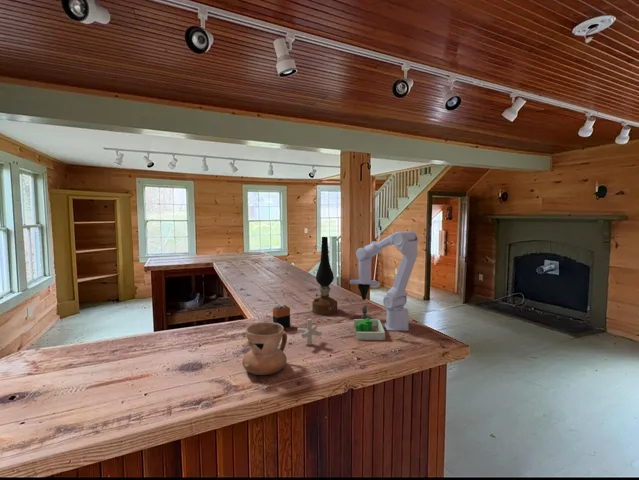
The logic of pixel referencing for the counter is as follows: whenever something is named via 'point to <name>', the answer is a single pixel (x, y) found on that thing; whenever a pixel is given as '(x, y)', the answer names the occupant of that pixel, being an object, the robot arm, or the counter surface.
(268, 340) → the ceramic jug
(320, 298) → the oil lamp
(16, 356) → the counter surface
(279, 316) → the battery
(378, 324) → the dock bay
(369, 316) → the pin mount
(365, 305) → the pin
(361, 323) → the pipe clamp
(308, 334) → the pipe connector
